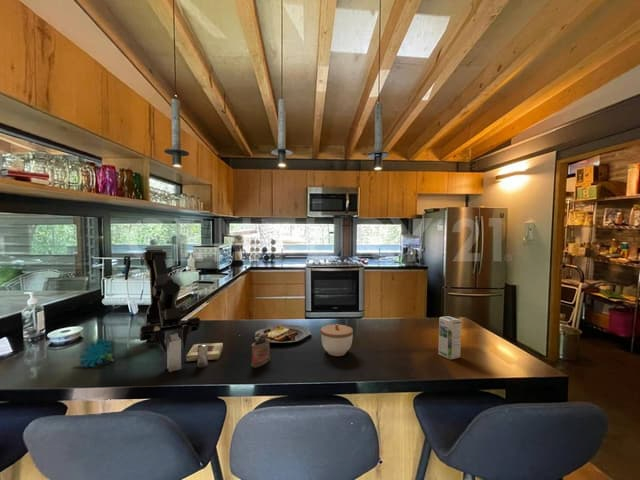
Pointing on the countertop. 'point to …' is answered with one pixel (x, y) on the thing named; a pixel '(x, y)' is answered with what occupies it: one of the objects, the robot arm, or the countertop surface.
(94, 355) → the teal lumpy clump
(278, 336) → the food plate
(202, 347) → the round peg
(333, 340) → the lidded bowl
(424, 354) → the countertop surface
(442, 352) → the syrup box
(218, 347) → the socket block
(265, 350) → the lighter
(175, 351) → the square bit
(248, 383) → the countertop surface
